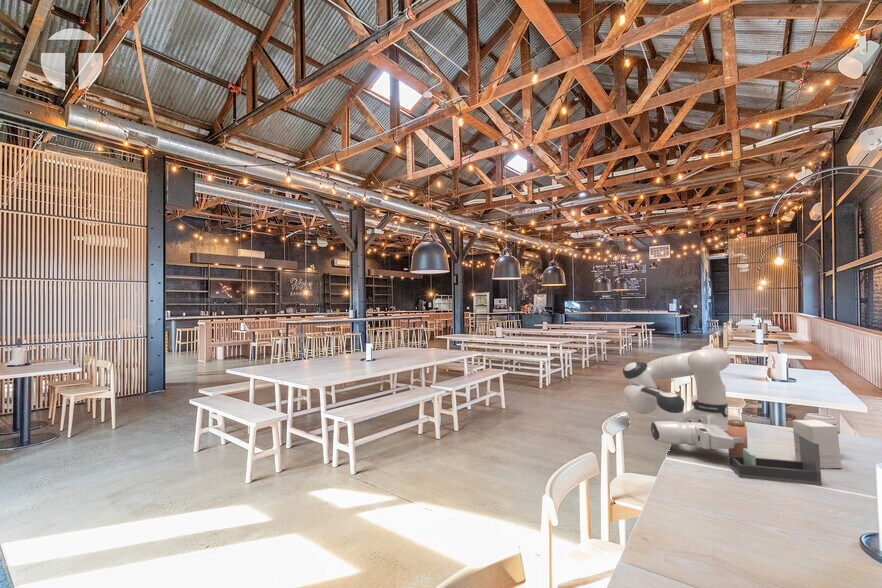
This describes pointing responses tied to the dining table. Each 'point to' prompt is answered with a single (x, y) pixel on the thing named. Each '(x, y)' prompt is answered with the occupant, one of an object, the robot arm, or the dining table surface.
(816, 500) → the dining table surface
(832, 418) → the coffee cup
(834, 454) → the supplement box
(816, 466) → the tray
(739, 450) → the jar
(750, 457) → the pusher plate
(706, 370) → the robot arm
